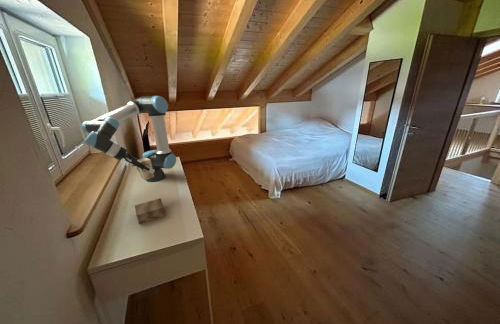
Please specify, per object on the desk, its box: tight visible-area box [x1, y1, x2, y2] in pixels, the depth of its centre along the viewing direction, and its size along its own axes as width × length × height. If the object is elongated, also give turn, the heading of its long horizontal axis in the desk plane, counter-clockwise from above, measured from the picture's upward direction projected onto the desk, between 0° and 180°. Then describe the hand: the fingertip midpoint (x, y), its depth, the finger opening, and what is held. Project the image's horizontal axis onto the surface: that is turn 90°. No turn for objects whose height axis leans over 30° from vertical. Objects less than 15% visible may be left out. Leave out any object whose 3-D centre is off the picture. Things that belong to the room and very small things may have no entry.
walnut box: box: [134, 197, 166, 225], centre depth 124 cm, size 14×12×6 cm
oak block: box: [137, 158, 154, 181], centre depth 133 cm, size 6×6×12 cm
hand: (152, 170), depth 136 cm, fingers closed on oak block, 7 cm apart
